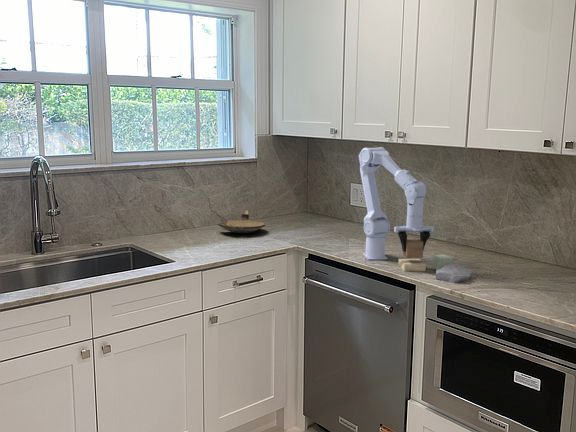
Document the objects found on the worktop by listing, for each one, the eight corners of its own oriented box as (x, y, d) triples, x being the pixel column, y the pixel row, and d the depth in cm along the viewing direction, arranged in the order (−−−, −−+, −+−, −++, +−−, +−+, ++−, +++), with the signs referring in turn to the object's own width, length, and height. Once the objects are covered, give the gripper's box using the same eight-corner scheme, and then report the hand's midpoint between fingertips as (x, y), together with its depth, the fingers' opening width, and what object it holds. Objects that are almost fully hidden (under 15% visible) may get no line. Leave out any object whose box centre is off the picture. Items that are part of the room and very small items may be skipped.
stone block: (471, 282, 204) (446, 271, 209) (475, 270, 202) (449, 259, 208) (458, 291, 195) (432, 279, 200) (462, 278, 193) (435, 267, 198)
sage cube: (432, 268, 214) (433, 255, 213) (443, 267, 216) (444, 254, 215) (440, 271, 209) (441, 258, 208) (451, 270, 211) (452, 257, 210)
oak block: (398, 266, 217) (398, 258, 216) (418, 266, 218) (419, 258, 217) (404, 272, 209) (404, 264, 209) (425, 272, 210) (425, 264, 209)
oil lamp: (208, 235, 264) (208, 219, 263) (239, 224, 291) (239, 209, 290) (250, 240, 255) (250, 223, 254) (278, 228, 282) (278, 213, 281)
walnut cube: (402, 254, 215) (403, 238, 214) (418, 253, 216) (418, 238, 214) (406, 258, 209) (407, 242, 208) (422, 257, 210) (423, 242, 209)
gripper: (398, 217, 205) (396, 253, 208) (437, 217, 206) (435, 253, 209) (393, 213, 212) (391, 249, 214) (431, 213, 213) (428, 248, 216)
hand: (412, 251), depth 212 cm, fingers closed on walnut cube, 6 cm apart
